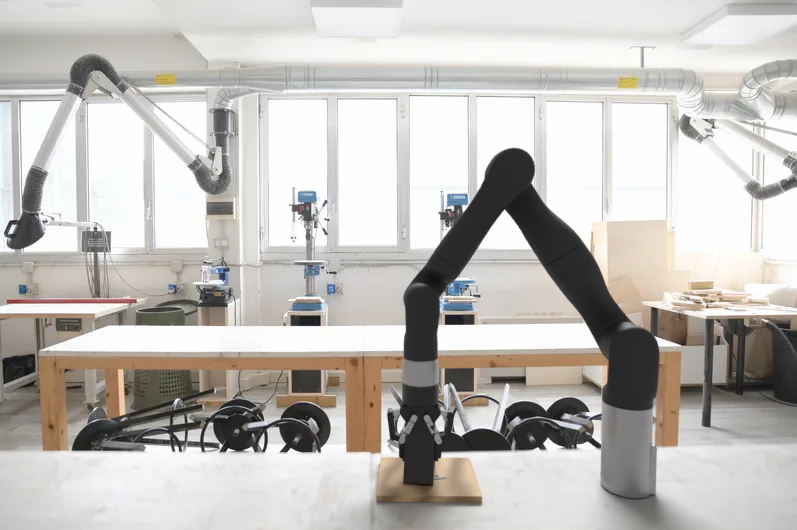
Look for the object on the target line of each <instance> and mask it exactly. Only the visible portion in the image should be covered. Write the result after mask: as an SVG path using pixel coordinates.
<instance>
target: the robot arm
mask: <svg viewBox="0 0 797 530" xmlns="http://www.w3.org/2000/svg"><path fill="white" fill-rule="evenodd" d="M535 171H536V165H535V161H534V159H533V157H532V155H531V154H530V153H529V152H528V151H526V150H524V148H523V149H522V148H520V147H515V146H514V147H508V148H505V149H502V150H500V151H498V152H497V153H496V154H495V155H494V156H493V157H492V159H491V160H490V161H489V163H488V165H487V166H486V168H485V171H484V177H483V181H482V183H481V184H480V187H479V188H478V190H477V192H476V193H475V195H474V197H473V198H472V199H471V201H470V203H469V204H468V206H467V207H466V208H465V210H464V211H463V213H462V214H461V215H460V216H459V218H457V220H456V221H455V222H454V223H453V225H452V226H451V227H450V228H449V230H448V231H447V233H446V234H445V235H444V236H443V238H442V239H441V241H440V242H439V243H438V245H437V246H436V248H435V249H434V250H433V253H431V255H430V256H429V258H428V261H427V262H426V263H425V265H424V266H423V267H422V268H421V269H420V271H419V272H418V273H417V274H416V276H415V277H413V279H412V281H411V282H410V283H409V284H408V286H406V289H405V291H404V292H403V298H402V300H403V305H404V311H405V313H404V314H405V315H404V317H405V318H404V319H405V320H404V321H405V332H404V337H403V362H402V370H401V371H402V372H401V374H402V375H401V379H402V380H401V382H402V383H401V387H402V388H401V406H400V407H399V408H396V409H393V408H391V407H390V408H388V409H387V412H386V417H387V419H386V420H387V427H388V433H389V439H390V441H392V442H394V441H395V442H396V443H398V457H399V458H402V461H404V452H405V436H406V435H409V433H410V431H411V429H412V427H413V425H414V424H415V422H419V421H425V422H426V424H427V426H428V428H429V430H430V432H431V434H433V433H434V434H435V441H434V460H435V461H438V459H440V458H442V444H443V443H444V442H449V441H451V438H452V432H453V425H454V424H453V423H454V417H455V415H454V410H453V409H452V408H447V409H442V408H441V407H440V405H439V399H440V397H439V395H440V394H439V393H440V392H439V388H440V387H439V385H440V383H439V380H440V372H439V371H440V369H439V359H438V357H439V355H438V352H439V351H438V350H439V349H438V347H439V343H438V341H439V340H438V331H439V322H440V315H441V313H440V312H441V299H440V297H441V296H442V295H443V293H444V291H446V290H447V288H448V287H449V285H450V284H451V283H453V282H455V280H457V278H458V277H459V276H460V275H461V274H462V272H463V270H464V269H465V267H467V265H468V264H469V262H470V260H471V259H472V258H473V256H474V254H475V253H476V251H477V250H478V249H479V247H480V245H481V243H482V242H483V240H484V239H485V238H486V236H487V234H488V233H489V231H490V230H491V228H492V227H493V225H494V224H495V222H496V221H497V220H498V218H499V217H500V216H501V215H502V213H503V212H506V213H507V214H508V215H509V216H510V218H511V219H512V220H513V222H514V223H515V224H516V225H517V227H518V228H519V230H520V232H521V234H522V236H523V238H524V239H525V240H526V242H527V244H528V245H529V247H530V249H531V250H532V252H533V253H534V255H535V256H536V257H537V260H539V262H540V264H541V265H542V267H543V268H544V269H545V271H546V273H547V274H548V275H549V277H550V279H551V280H552V281H553V282H554V283H555V285H556V286H557V289H559V291H561V293H562V294H563V295H564V297H565V298H566V299H567V300H568V302H570V304H571V305H572V307H574V308H575V309H576V312H578V314H579V315H580V317H581V318H582V319H583V321H584V324H586V326H587V328H588V330H589V332H590V333H591V336H592V338H594V341H595V343H596V344H597V347H598V349H599V350H600V352H601V354H602V355H603V357H604V358H605V359H606V360H607V361H608V364H607V365H608V366H607V380H606V384H604V385H603V387H602V388H601V389H602V390H601V427H600V431H601V434H600V435H601V436H600V437H601V439H600V443H601V444H600V470H599V471H600V472H599V473H600V475H599V477H600V480H599V481H600V484H601V486H602V488H604V489H605V490H607V491H608V492H610V493H612V494H614V495H617V496H620V497H623V498H626V499H627V498H628V499H645V498H648V497H649V496H651V495H656V494H657V492H656V491H657V467H658V466H657V461H658V460H657V458H658V455H657V454H658V447H657V446H656V445H655V444H654V443H653V431H654V430H653V427H654V423H653V420H654V418H653V417H654V415H653V414H654V398H655V397H656V396H657V392H658V388H659V387H658V386H659V377H660V375H659V374H660V372H659V371H660V361H661V360H660V358H661V357H660V348H659V347H660V346H659V343H658V341H657V339H656V337H655V335H654V334H653V333H652V332H651V331H649V330H648V329H646V328H644V327H642V326H640V325H637V324H635V323H634V322H633V321H632V320H631V319H630V318H629V317H628V316H627V315H626V312H624V311H623V310H622V308H621V307H620V306H619V305H618V303H617V302H616V300H615V299H614V298H613V296H612V295H611V293H610V291H609V289H608V286H607V284H606V280H605V278H604V276H603V272H602V271H601V268H600V266H599V264H598V262H597V260H596V257H594V255H593V254H592V252H591V251H590V250H589V248H588V246H587V245H586V244H585V242H584V240H583V239H582V238H581V237H580V235H579V234H577V232H576V231H575V230H574V228H572V227H571V226H570V225H569V224H568V223H567V222H565V220H563V219H562V218H561V217H560V216H559V215H557V214H556V213H555V212H554V211H552V209H550V208H549V207H548V205H547V204H545V202H544V201H543V199H542V197H540V194H539V193H538V191H537V190H536V188H535V187H534V185H533V183H532V182H533V180H534V177H535V173H536V172H535ZM399 416H400V417H401V418H402V420H403V421H404V423H403V425H402V428H401V431H400V433H399V432H397V430H396V424H395V423H396V421H397V420H398V418H399ZM440 416H442V420H443V421H444V429H443V432H442V433H440V431H439V430H438V428H437V424H436V422H437V420H438V419H439V417H440ZM432 420H435V432H434V431H433V430H432V429H431V428H430V427H431V426H432V425H434V424H433V422H432ZM406 422H407V425H406V427H405V423H406ZM430 425H431V426H430Z"/></svg>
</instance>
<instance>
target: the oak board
mask: <svg viewBox="0 0 797 530" xmlns="http://www.w3.org/2000/svg"><path fill="white" fill-rule="evenodd" d="M379 458H380V460H379V470H378V478H377V479H378V481H377V490H376V502H377V503H474V504H475V503H483V494H482V492H481V489H480V485H479V483H478V482H479V481H478V480H477V476H476V474H475V470H474V467H473V464H472V461H471V458H470V457H441V458H440V459H438V461H435V471H434V482H433V486H431V485H418V484H404V483H403V475H404V461H402V458H399V456H397V457H396V456H395V457H394V456H392V457H391V456H389V457H388V456H387V457H385V456H381V457H379Z"/></svg>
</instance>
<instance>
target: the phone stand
mask: <svg viewBox="0 0 797 530" xmlns="http://www.w3.org/2000/svg"><path fill="white" fill-rule="evenodd" d="M432 422H433V424H434V425H432V426H431V425H430V426H431V427H430V428H431V429H432V430H433V431H434V432H435V424H436V422H435V420H432ZM404 423H405V422H404ZM406 425H407V422H406V423H405V427H406ZM434 441H435V434H434V433H433V434H431V432H430V430H429V428H428V426H427V424H426V422H425V421H419V422H415V424H414V425H413V427H412V429H411V431H410V433H409V435H406V436H405V452H404V475H403V483H404V484H418V485H431V486H433V482H434V471H435V460H434Z"/></svg>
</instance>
